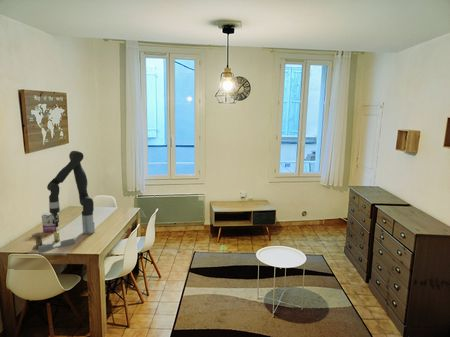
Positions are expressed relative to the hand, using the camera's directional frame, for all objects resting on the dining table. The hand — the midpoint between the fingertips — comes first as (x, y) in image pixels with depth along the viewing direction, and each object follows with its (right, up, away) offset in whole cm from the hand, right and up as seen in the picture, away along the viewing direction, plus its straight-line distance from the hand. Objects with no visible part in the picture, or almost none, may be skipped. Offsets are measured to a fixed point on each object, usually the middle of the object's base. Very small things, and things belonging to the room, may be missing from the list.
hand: (55, 225), depth 270 cm
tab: (0, -14, +3) cm, 14 cm away
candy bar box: (-17, -10, +24) cm, 31 cm away
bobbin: (-8, -16, -10) cm, 20 cm away
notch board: (+6, -16, -9) cm, 19 cm away
